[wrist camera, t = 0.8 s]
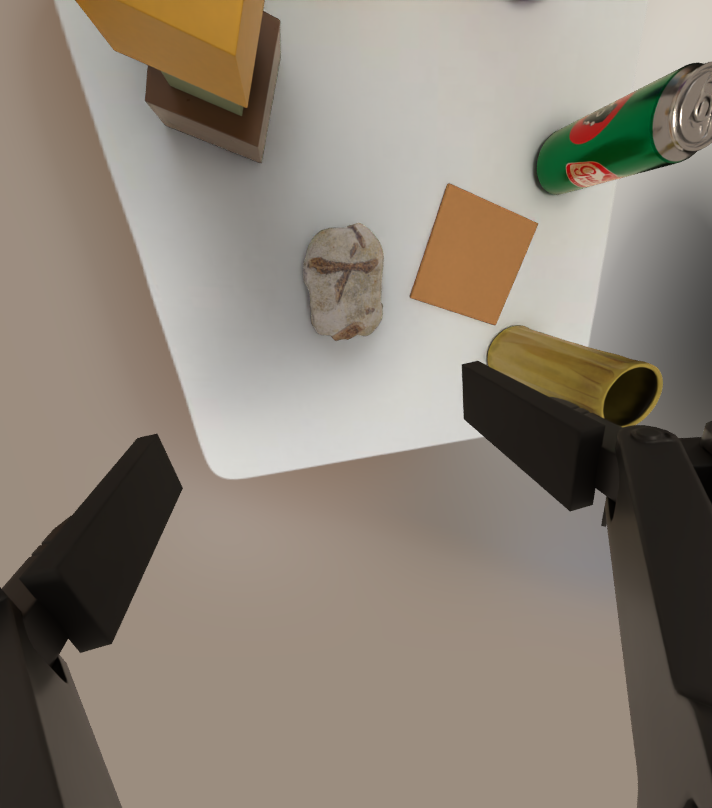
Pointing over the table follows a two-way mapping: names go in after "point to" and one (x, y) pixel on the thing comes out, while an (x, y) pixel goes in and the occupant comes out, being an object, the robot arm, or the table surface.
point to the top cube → (186, 39)
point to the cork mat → (472, 256)
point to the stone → (344, 281)
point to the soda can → (632, 133)
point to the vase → (578, 374)
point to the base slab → (215, 121)
